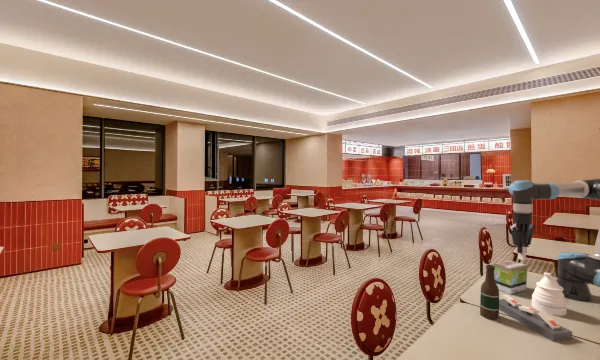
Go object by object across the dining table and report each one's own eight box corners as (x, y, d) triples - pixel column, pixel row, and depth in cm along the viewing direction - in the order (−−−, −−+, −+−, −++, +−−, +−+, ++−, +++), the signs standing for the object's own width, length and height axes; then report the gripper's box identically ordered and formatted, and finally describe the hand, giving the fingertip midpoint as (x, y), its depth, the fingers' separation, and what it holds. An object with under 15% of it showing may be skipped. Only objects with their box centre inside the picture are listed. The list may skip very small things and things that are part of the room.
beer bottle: (502, 321, 127) (504, 269, 126) (483, 319, 128) (484, 267, 127) (494, 312, 134) (495, 263, 133) (476, 310, 136) (477, 262, 135)
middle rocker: (518, 309, 130) (518, 306, 130) (524, 308, 130) (523, 305, 131) (533, 313, 123) (532, 310, 123) (539, 313, 124) (538, 309, 124)
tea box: (511, 295, 152) (512, 268, 152) (492, 288, 161) (492, 262, 161) (527, 290, 159) (527, 264, 158) (507, 283, 168) (508, 259, 167)
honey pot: (555, 317, 129) (556, 279, 128) (525, 305, 141) (526, 270, 141) (573, 312, 133) (574, 276, 133) (542, 300, 146) (543, 266, 145)
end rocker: (538, 313, 121) (539, 312, 120) (543, 313, 121) (545, 311, 121) (552, 329, 115) (554, 327, 114) (558, 328, 115) (560, 326, 115)
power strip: (492, 305, 141) (493, 298, 140) (508, 304, 142) (508, 296, 142) (553, 341, 112) (553, 331, 112) (571, 338, 113) (572, 329, 113)
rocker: (501, 296, 139) (502, 294, 139) (506, 296, 139) (507, 294, 139) (514, 306, 132) (514, 304, 132) (519, 306, 133) (520, 303, 132)
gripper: (525, 210, 141) (525, 256, 142) (504, 211, 139) (503, 258, 140) (541, 212, 134) (540, 260, 135) (518, 213, 132) (517, 263, 133)
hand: (521, 259), depth 138 cm, fingers closed
